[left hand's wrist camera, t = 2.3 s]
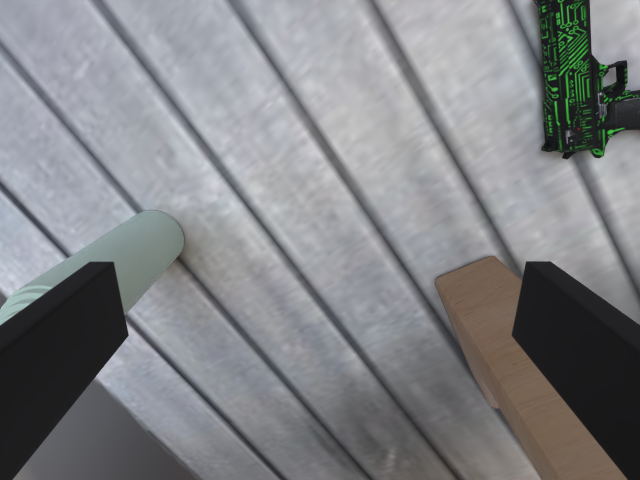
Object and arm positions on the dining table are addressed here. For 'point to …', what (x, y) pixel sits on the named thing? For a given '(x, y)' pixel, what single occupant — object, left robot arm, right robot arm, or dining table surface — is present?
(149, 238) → the bottle
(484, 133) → the dining table surface
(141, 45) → the dining table surface
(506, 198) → the dining table surface
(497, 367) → the decorative block
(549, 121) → the handgun
